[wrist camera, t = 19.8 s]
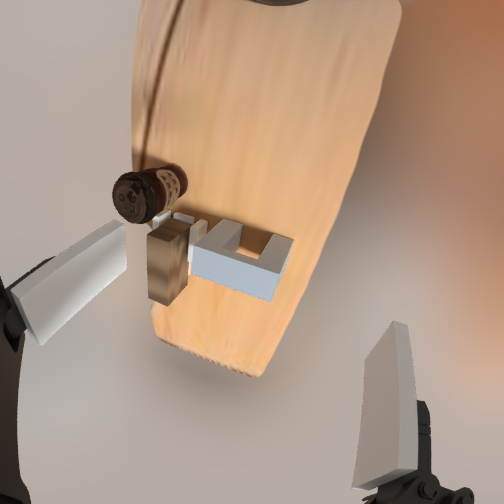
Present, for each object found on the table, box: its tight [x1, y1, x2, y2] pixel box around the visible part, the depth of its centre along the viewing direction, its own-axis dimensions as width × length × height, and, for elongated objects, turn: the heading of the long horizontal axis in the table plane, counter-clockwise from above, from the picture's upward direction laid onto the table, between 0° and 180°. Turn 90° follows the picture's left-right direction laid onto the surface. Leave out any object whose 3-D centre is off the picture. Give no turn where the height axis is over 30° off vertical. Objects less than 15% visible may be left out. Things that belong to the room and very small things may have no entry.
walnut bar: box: [147, 218, 192, 307], centre depth 51 cm, size 14×4×8 cm, turn 168°
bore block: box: [191, 218, 294, 302], centre depth 44 cm, size 5×13×11 cm, turn 79°
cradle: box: [152, 209, 208, 276], centre depth 52 cm, size 13×10×4 cm
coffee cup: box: [112, 164, 188, 224], centre depth 43 cm, size 9×8×13 cm
